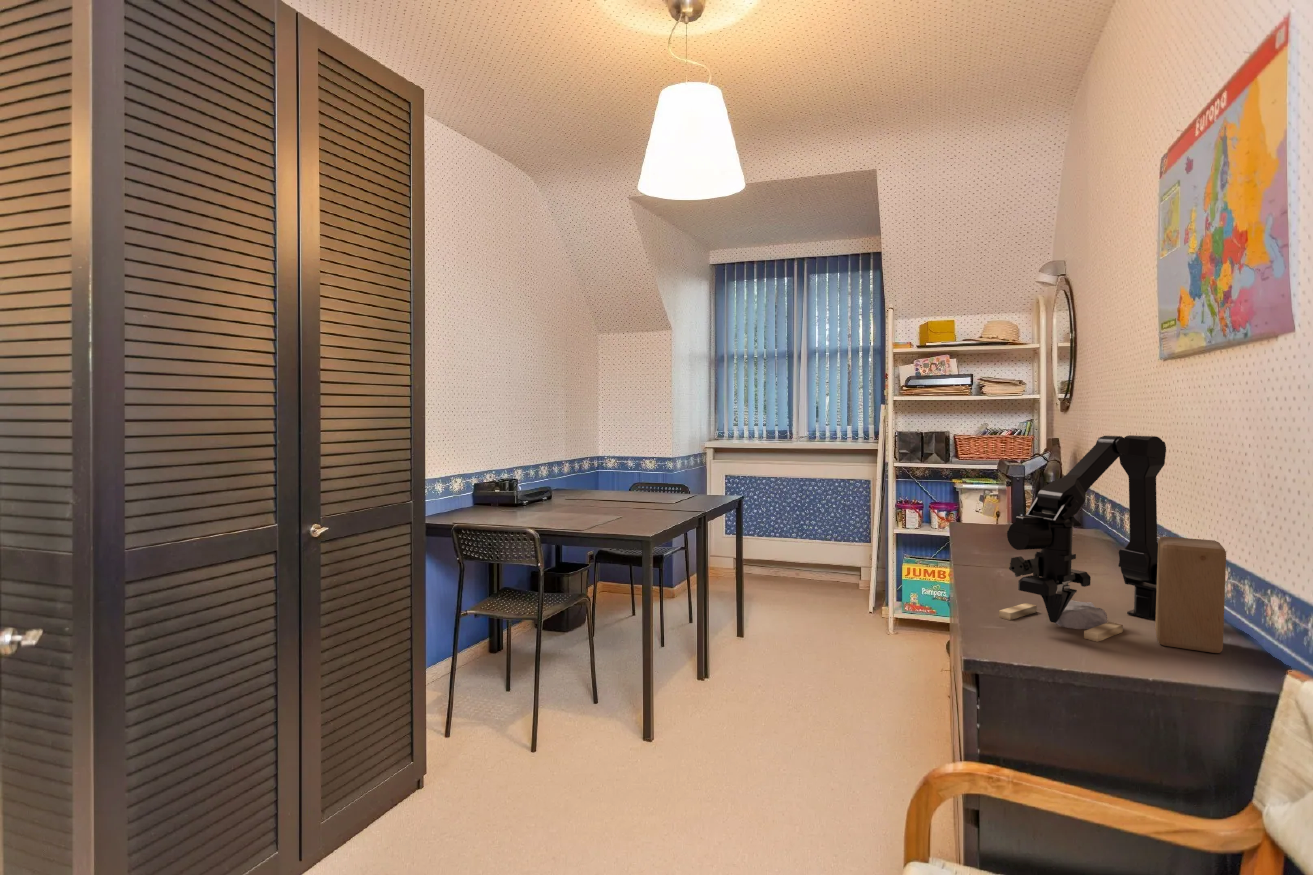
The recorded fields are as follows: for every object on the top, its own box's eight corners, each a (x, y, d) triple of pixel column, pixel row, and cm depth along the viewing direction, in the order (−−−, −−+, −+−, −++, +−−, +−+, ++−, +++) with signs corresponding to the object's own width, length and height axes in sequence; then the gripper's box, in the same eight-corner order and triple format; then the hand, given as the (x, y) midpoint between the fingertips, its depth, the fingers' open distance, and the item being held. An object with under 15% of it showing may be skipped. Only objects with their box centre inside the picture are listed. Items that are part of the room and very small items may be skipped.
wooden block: (1223, 655, 134) (1227, 548, 133) (1157, 646, 139) (1161, 542, 138) (1216, 641, 142) (1220, 540, 142) (1154, 632, 148) (1158, 535, 147)
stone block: (1060, 636, 151) (1113, 630, 149) (1055, 614, 151) (1108, 607, 149) (1043, 622, 162) (1092, 616, 160) (1039, 601, 163) (1087, 595, 160)
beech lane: (1025, 609, 164) (1025, 602, 164) (1122, 631, 148) (1122, 624, 148) (998, 617, 158) (999, 610, 158) (1097, 641, 142) (1097, 634, 142)
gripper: (1040, 538, 163) (1037, 607, 164) (994, 545, 152) (992, 619, 153) (1093, 546, 154) (1090, 619, 155) (1048, 554, 143) (1045, 633, 144)
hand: (1053, 622), depth 152 cm, fingers closed
